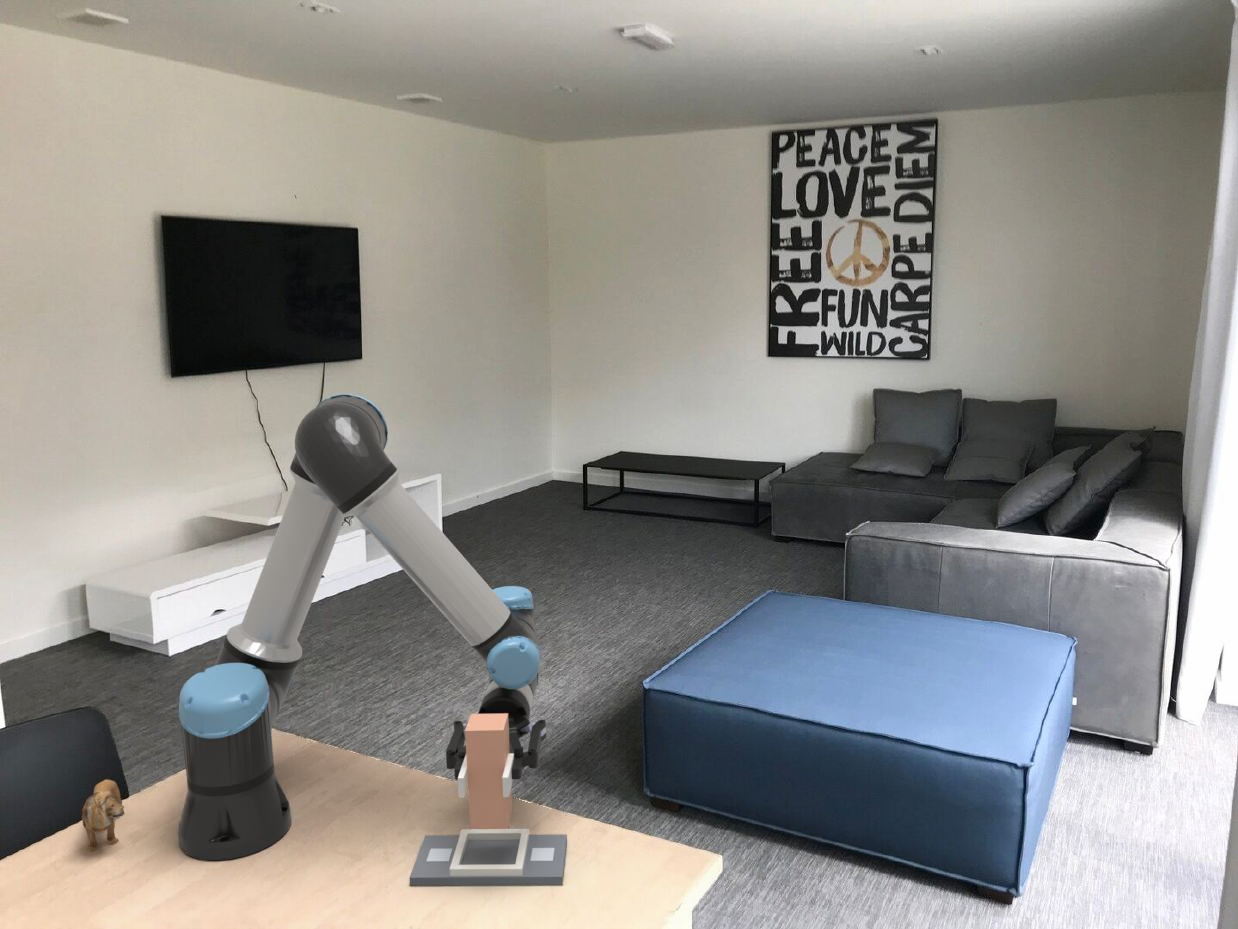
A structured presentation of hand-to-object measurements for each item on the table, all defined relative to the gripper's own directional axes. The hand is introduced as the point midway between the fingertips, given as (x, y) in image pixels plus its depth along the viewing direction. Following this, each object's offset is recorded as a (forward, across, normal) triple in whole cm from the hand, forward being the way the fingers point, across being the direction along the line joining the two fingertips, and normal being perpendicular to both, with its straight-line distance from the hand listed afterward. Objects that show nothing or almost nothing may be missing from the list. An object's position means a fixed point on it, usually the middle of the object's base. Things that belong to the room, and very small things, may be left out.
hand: (483, 787), depth 126 cm
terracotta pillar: (-5, 0, -8) cm, 9 cm away
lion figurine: (-13, +57, -14) cm, 60 cm away
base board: (-5, 0, -14) cm, 15 cm away
